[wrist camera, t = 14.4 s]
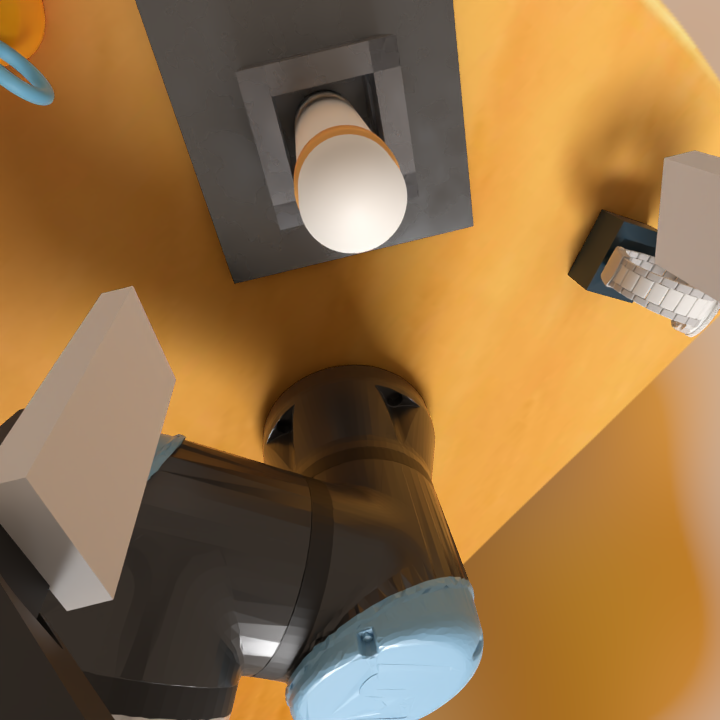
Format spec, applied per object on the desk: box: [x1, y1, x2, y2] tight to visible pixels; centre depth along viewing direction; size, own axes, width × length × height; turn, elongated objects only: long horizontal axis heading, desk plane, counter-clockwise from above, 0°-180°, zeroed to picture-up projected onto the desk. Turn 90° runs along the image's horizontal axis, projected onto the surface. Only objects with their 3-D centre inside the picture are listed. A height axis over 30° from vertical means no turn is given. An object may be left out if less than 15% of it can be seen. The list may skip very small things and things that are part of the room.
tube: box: [294, 90, 407, 253], centre depth 28 cm, size 4×4×18 cm
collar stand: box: [135, 0, 473, 284], centre depth 34 cm, size 18×18×6 cm
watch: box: [568, 210, 720, 337], centre depth 39 cm, size 6×8×11 cm
